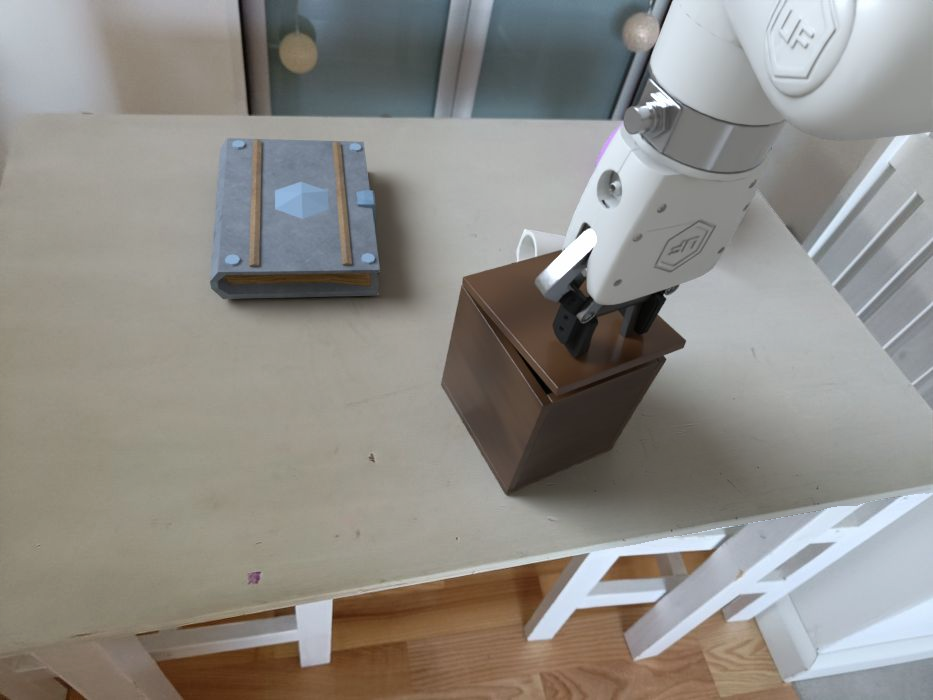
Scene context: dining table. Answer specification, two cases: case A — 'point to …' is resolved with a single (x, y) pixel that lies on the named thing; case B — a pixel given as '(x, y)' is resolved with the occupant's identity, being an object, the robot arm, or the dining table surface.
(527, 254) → the long cone
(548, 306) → the lid
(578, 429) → the chest
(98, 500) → the dining table surface
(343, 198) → the book
